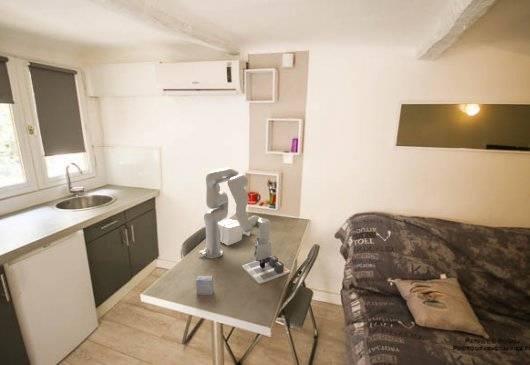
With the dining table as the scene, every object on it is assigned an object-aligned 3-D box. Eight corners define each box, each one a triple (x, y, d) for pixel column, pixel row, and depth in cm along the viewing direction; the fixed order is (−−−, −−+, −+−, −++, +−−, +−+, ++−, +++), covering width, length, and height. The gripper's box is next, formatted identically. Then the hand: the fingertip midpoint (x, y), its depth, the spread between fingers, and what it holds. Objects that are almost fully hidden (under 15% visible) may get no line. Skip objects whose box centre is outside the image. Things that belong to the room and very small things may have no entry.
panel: (259, 284, 140) (259, 274, 138) (241, 267, 156) (242, 257, 154) (289, 272, 152) (290, 263, 150) (270, 257, 168) (271, 249, 166)
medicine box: (213, 289, 134) (213, 275, 132) (211, 295, 130) (211, 280, 128) (198, 289, 134) (197, 275, 132) (196, 295, 129) (195, 280, 127)
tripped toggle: (272, 267, 154) (273, 260, 153) (269, 264, 157) (269, 257, 156) (277, 265, 156) (278, 258, 155) (274, 262, 159) (274, 255, 158)
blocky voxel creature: (258, 239, 198) (232, 249, 177) (236, 230, 214) (210, 238, 192) (259, 221, 196) (233, 229, 174) (237, 213, 211) (211, 220, 190)
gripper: (255, 245, 141) (255, 274, 145) (277, 239, 149) (275, 266, 153) (249, 239, 147) (248, 267, 151) (270, 234, 155) (268, 261, 159)
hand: (262, 267), depth 152 cm, fingers closed
